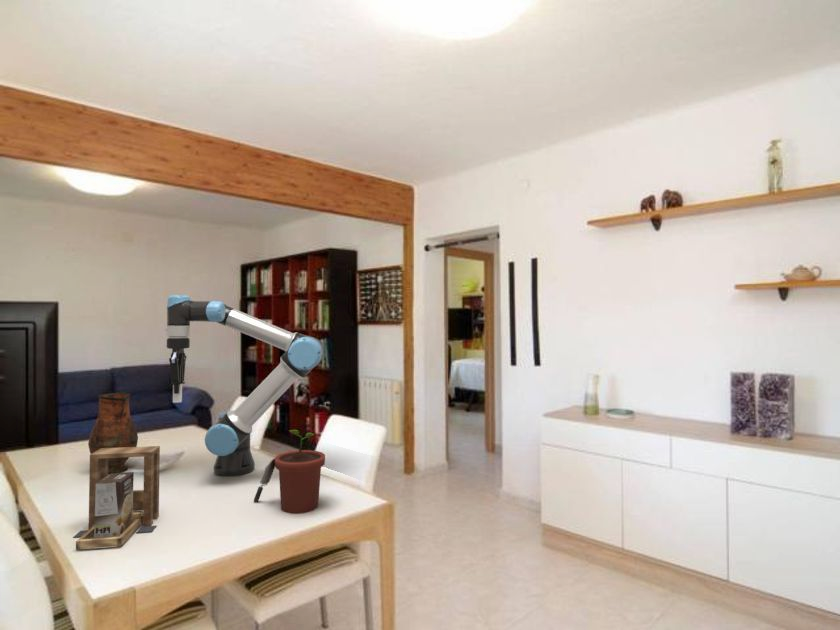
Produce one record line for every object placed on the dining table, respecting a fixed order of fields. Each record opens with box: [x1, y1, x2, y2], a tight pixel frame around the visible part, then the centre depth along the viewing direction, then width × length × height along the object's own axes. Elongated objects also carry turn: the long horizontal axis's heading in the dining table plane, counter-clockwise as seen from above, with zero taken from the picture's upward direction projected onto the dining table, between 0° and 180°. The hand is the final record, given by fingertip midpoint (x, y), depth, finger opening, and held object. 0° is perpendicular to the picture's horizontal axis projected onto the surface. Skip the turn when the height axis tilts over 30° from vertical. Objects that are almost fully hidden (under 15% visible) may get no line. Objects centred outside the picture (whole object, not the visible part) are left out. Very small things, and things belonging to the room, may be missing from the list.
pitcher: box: [88, 392, 139, 475], centre depth 193 cm, size 17×21×30 cm
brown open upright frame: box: [88, 445, 161, 530], centre depth 141 cm, size 16×7×21 cm, turn 101°
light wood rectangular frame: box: [75, 489, 144, 550], centre depth 138 cm, size 11×26×6 cm, turn 11°
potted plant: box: [253, 429, 326, 515], centre depth 157 cm, size 18×22×25 cm
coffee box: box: [93, 471, 135, 539], centre depth 133 cm, size 9×6×16 cm
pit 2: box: [135, 525, 158, 534], centre depth 137 cm, size 4×4×1 cm
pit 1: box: [72, 529, 89, 539], centre depth 134 cm, size 4×4×1 cm
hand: (177, 402), depth 177 cm, fingers closed
